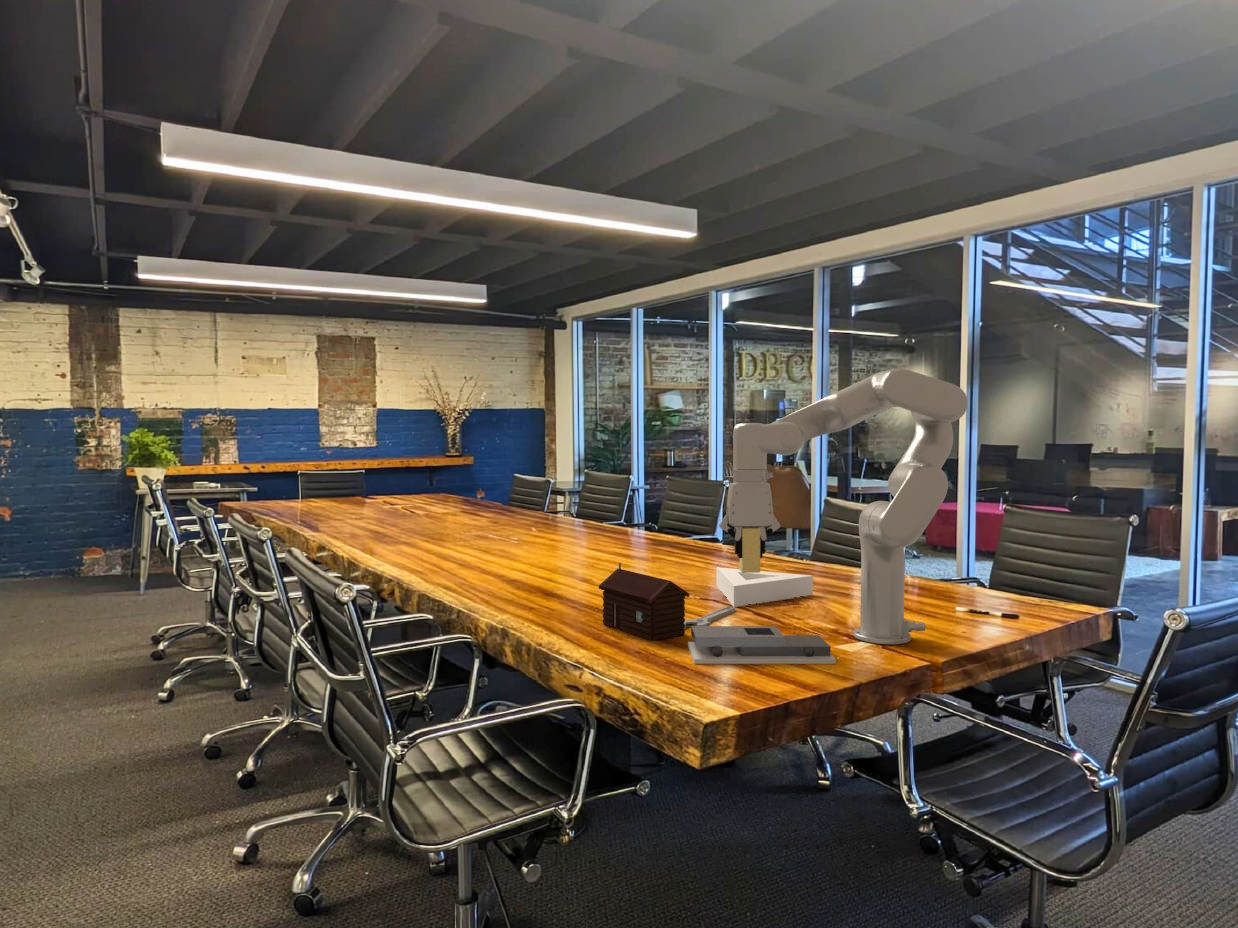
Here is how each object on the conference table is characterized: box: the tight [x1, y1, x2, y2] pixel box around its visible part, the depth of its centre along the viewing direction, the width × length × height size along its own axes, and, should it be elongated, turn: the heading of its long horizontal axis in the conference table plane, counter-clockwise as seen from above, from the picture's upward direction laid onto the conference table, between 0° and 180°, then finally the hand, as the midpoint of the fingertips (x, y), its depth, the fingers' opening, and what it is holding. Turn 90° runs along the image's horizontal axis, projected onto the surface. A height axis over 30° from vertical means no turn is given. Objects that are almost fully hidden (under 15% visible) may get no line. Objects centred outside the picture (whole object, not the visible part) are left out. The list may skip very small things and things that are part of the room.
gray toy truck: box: [690, 625, 832, 657], centre depth 163 cm, size 28×10×4 cm, turn 90°
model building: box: [598, 562, 691, 642], centre depth 184 cm, size 21×12×15 cm, turn 36°
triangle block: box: [716, 566, 814, 608], centre depth 227 cm, size 30×26×6 cm
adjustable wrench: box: [684, 605, 736, 630], centre depth 194 cm, size 25×6×2 cm, turn 142°
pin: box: [738, 527, 761, 573], centre depth 175 cm, size 4×4×10 cm
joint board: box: [687, 641, 837, 665], centre depth 163 cm, size 29×13×1 cm, turn 90°
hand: (749, 556), depth 175 cm, fingers closed on pin, 4 cm apart
